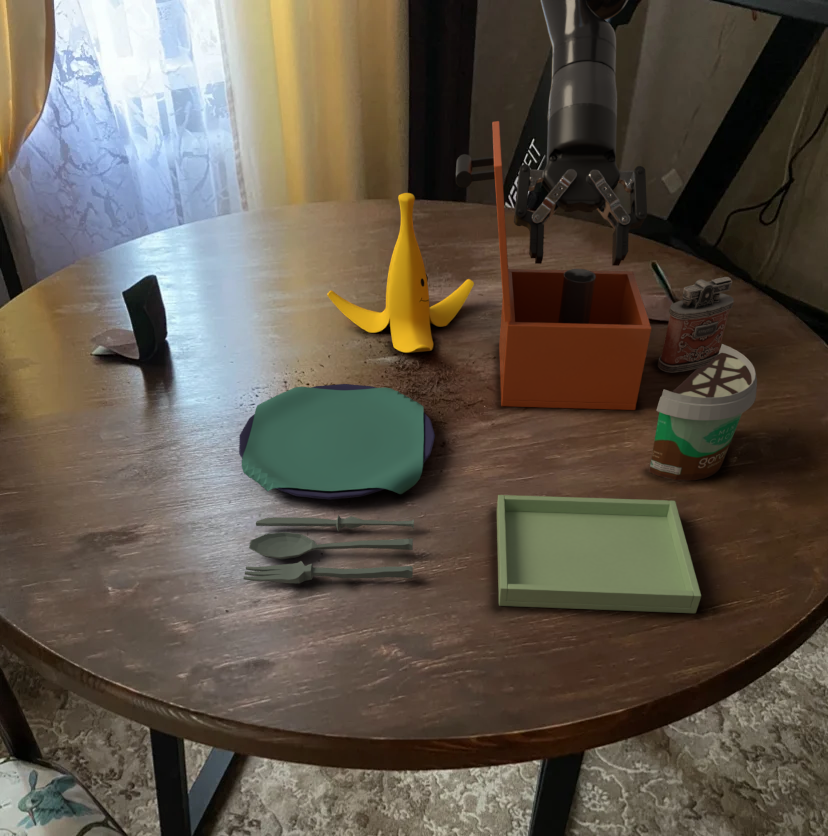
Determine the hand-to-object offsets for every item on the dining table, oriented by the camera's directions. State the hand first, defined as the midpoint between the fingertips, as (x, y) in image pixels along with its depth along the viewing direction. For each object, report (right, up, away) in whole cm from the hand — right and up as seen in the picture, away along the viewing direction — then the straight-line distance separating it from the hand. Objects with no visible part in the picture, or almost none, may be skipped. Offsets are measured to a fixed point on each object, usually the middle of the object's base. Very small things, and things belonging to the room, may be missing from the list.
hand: (578, 262), depth 92 cm
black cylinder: (0, -10, +5) cm, 12 cm away
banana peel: (-21, -4, +14) cm, 26 cm away
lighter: (+14, -10, +7) cm, 19 cm away
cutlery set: (-26, -25, -10) cm, 37 cm away
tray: (-3, -32, -18) cm, 37 cm away
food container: (+11, -23, -8) cm, 27 cm away
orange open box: (-1, -12, +5) cm, 13 cm away
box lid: (-9, +2, -7) cm, 11 cm away
